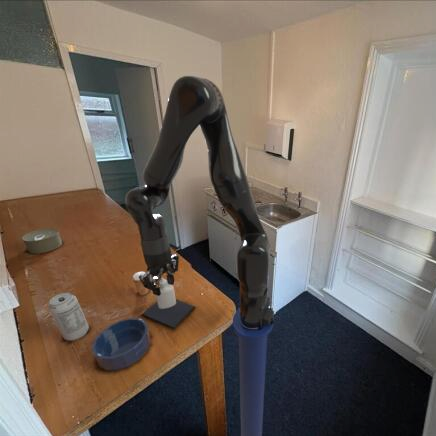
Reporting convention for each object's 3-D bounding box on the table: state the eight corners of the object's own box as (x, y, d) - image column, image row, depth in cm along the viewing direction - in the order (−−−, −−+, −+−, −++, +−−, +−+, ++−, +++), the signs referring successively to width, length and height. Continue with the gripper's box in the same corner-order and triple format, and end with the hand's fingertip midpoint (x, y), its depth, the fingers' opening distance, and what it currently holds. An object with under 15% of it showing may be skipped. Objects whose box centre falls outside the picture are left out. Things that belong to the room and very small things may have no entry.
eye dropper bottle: (162, 299, 84) (157, 273, 79) (178, 300, 85) (173, 274, 79) (156, 308, 81) (150, 282, 75) (172, 310, 81) (167, 283, 75)
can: (65, 238, 120) (60, 226, 117) (60, 250, 111) (54, 237, 108) (32, 243, 114) (26, 231, 111) (24, 256, 105) (17, 243, 102)
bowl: (160, 338, 74) (157, 326, 72) (120, 378, 63) (115, 366, 61) (129, 324, 78) (125, 312, 76) (86, 360, 67) (80, 347, 64)
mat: (194, 307, 86) (194, 306, 86) (174, 329, 78) (173, 327, 78) (165, 296, 90) (164, 295, 90) (142, 315, 82) (141, 313, 81)
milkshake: (132, 296, 89) (126, 275, 85) (143, 287, 94) (138, 267, 89) (141, 299, 88) (136, 278, 84) (153, 289, 93) (148, 269, 89)
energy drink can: (85, 322, 77) (70, 288, 71) (92, 332, 74) (77, 297, 68) (61, 334, 73) (43, 299, 66) (68, 345, 70) (50, 309, 63)
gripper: (145, 263, 65) (155, 307, 72) (183, 239, 77) (188, 279, 85) (125, 256, 67) (137, 300, 74) (165, 234, 79) (172, 273, 87)
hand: (164, 288), depth 79 cm, fingers closed on eye dropper bottle, 5 cm apart
